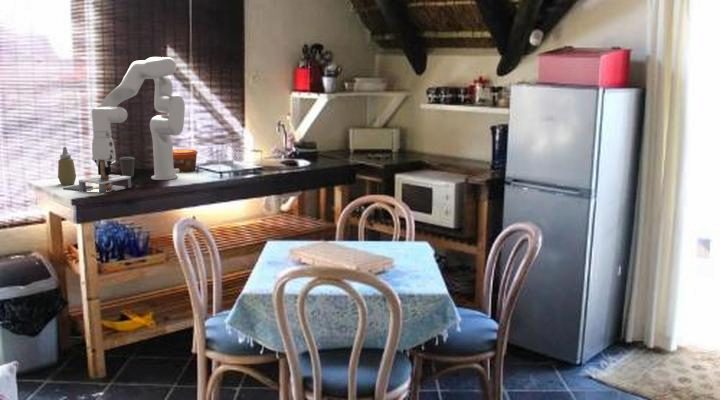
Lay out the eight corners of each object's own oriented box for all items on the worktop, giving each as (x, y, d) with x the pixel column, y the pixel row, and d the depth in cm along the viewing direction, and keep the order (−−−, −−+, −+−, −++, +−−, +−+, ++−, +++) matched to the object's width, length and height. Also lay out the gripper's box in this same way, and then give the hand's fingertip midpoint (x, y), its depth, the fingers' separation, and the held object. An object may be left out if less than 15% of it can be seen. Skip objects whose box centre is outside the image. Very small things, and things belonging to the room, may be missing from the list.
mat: (78, 186, 332) (78, 184, 332) (92, 187, 328) (92, 186, 328) (63, 189, 324) (63, 187, 324) (77, 190, 320) (77, 189, 320)
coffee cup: (126, 178, 355) (124, 158, 353) (116, 176, 360) (115, 157, 358) (139, 176, 361) (138, 156, 359) (130, 174, 366) (129, 155, 364)
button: (105, 187, 327) (105, 183, 326) (112, 188, 325) (112, 184, 325) (99, 189, 323) (99, 184, 323) (105, 189, 322) (105, 185, 321)
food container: (183, 173, 370) (182, 153, 367) (161, 171, 377) (160, 151, 375) (204, 169, 383) (203, 150, 381) (182, 167, 391) (182, 148, 389)
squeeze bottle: (79, 184, 336) (76, 147, 333) (62, 186, 331) (59, 148, 327) (72, 182, 342) (69, 145, 339) (55, 184, 337) (52, 146, 333)
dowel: (105, 183, 326) (103, 156, 323) (110, 184, 324) (108, 156, 322) (99, 185, 323) (97, 156, 320) (105, 185, 321) (103, 157, 319)
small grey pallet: (108, 185, 335) (107, 174, 334) (131, 187, 329) (130, 176, 328) (79, 191, 319) (78, 179, 318) (102, 193, 313) (102, 182, 312)
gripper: (122, 135, 319) (124, 175, 323) (94, 133, 326) (97, 172, 330) (109, 136, 313) (112, 177, 316) (82, 134, 319) (85, 174, 323)
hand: (104, 174), depth 323 cm, fingers closed on dowel, 3 cm apart
